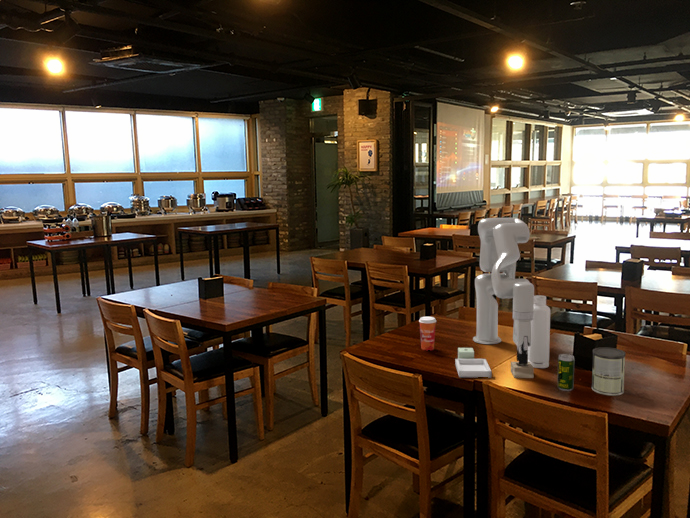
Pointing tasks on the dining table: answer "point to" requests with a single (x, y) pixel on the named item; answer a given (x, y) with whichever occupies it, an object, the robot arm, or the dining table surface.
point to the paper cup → (427, 332)
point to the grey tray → (473, 368)
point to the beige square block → (522, 370)
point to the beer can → (565, 372)
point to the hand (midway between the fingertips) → (522, 361)
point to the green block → (465, 353)
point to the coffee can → (608, 371)
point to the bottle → (540, 334)
